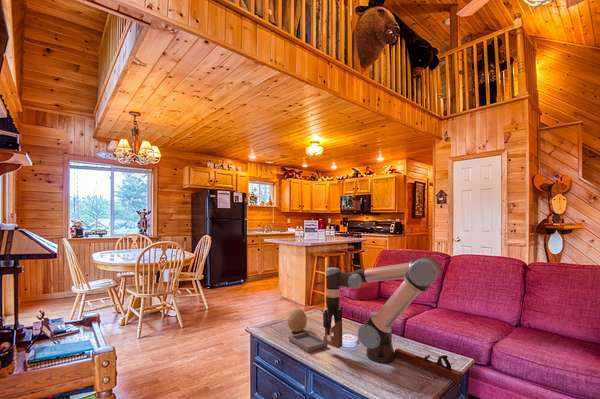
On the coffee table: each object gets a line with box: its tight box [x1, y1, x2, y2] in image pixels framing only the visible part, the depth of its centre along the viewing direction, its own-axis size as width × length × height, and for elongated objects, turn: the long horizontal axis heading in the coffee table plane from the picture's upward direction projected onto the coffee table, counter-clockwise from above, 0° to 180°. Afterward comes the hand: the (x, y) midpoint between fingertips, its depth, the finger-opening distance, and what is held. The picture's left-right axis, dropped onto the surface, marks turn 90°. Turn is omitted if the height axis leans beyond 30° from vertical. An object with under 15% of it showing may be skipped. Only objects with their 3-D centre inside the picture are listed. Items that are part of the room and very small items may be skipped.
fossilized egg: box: [286, 307, 308, 333], centre depth 203 cm, size 13×13×15 cm
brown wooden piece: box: [322, 311, 343, 349], centre depth 171 cm, size 4×11×18 cm, turn 45°
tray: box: [288, 331, 328, 354], centre depth 183 cm, size 19×14×3 cm
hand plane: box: [394, 347, 463, 384], centre depth 158 cm, size 34×5×10 cm, turn 43°
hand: (332, 339), depth 170 cm, fingers closed on brown wooden piece, 4 cm apart
